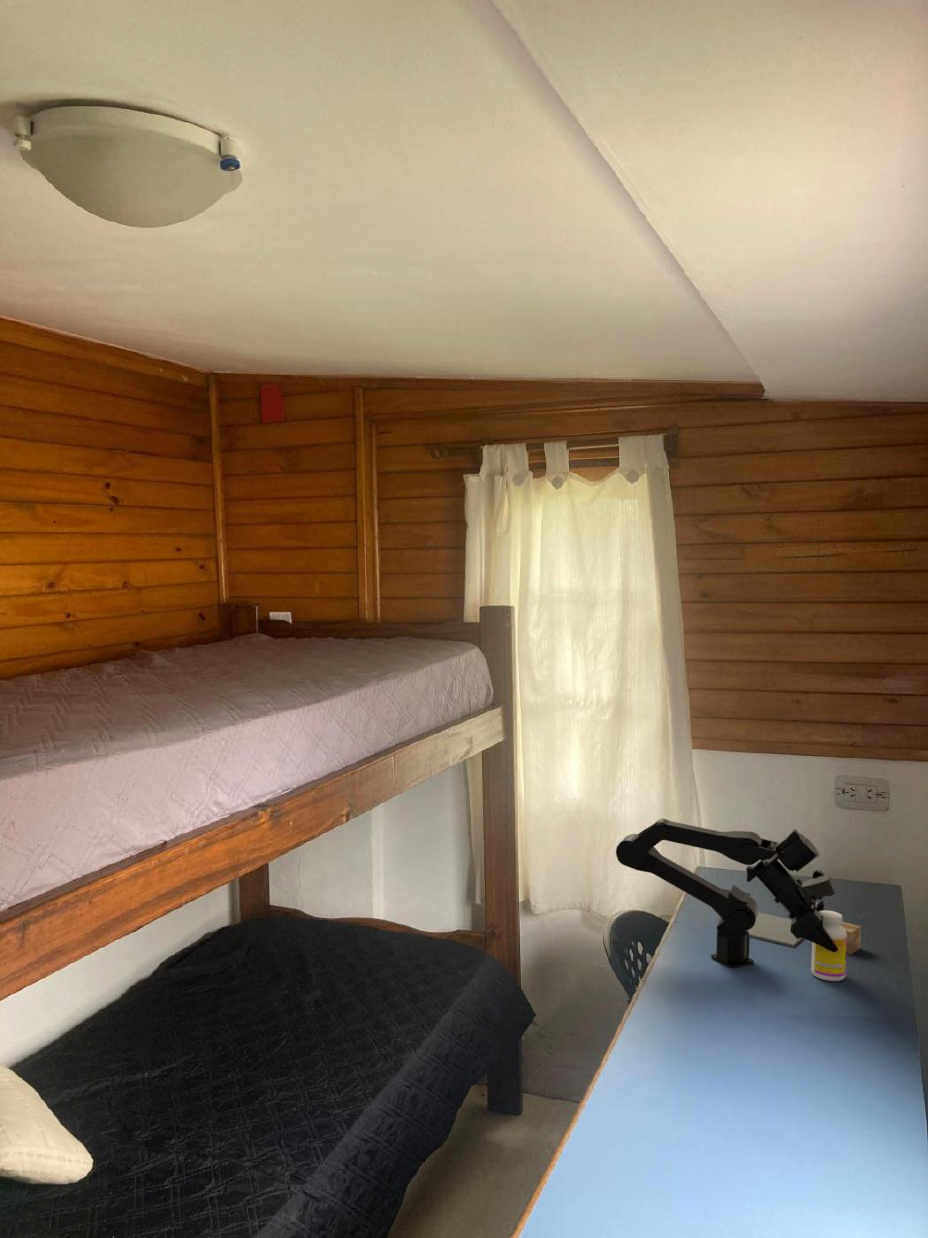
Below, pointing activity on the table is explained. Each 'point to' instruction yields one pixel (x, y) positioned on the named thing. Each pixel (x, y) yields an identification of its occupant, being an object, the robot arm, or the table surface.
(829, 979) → the supplement bottle
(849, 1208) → the table surface
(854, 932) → the light brown cube
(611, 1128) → the table surface
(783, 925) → the mat
